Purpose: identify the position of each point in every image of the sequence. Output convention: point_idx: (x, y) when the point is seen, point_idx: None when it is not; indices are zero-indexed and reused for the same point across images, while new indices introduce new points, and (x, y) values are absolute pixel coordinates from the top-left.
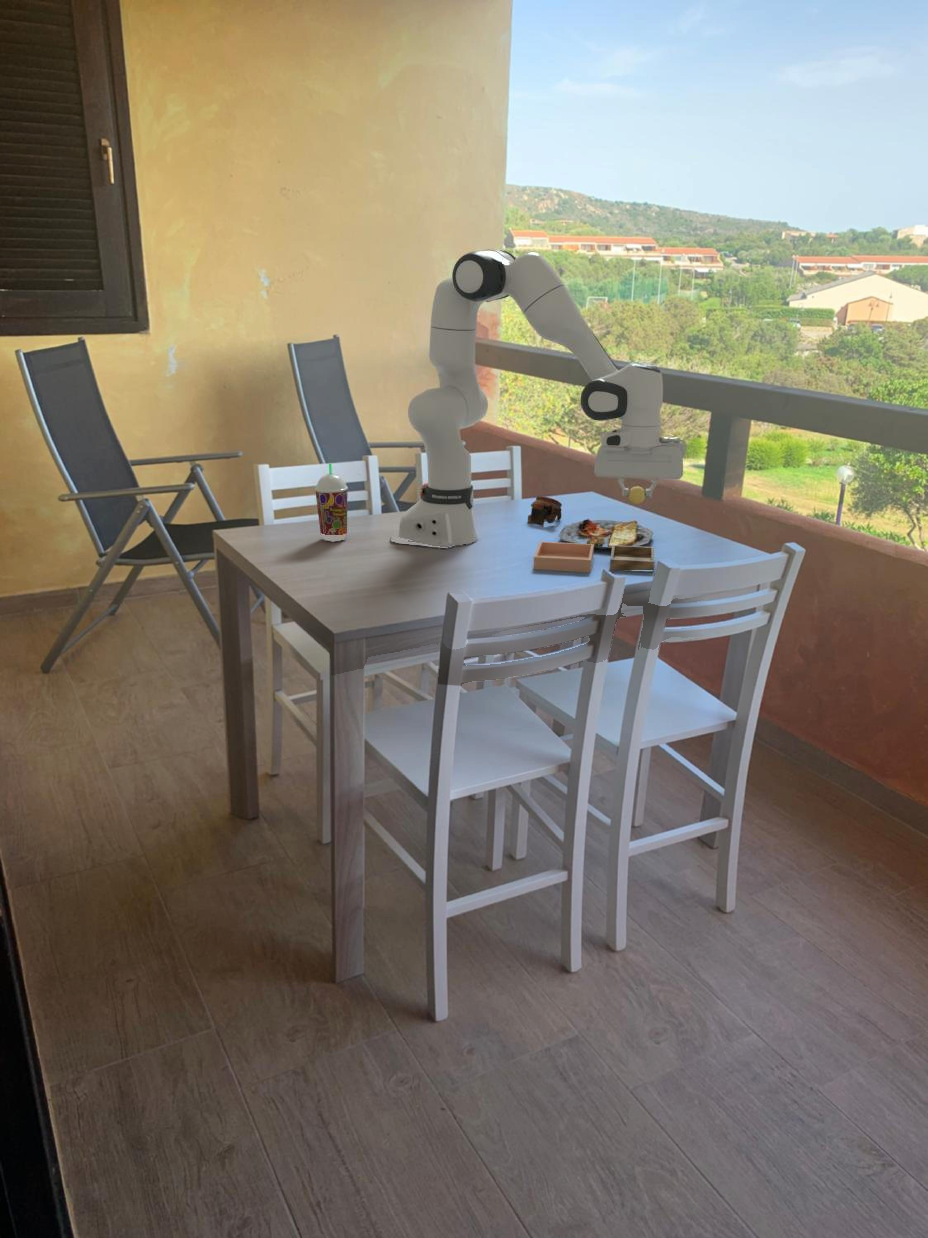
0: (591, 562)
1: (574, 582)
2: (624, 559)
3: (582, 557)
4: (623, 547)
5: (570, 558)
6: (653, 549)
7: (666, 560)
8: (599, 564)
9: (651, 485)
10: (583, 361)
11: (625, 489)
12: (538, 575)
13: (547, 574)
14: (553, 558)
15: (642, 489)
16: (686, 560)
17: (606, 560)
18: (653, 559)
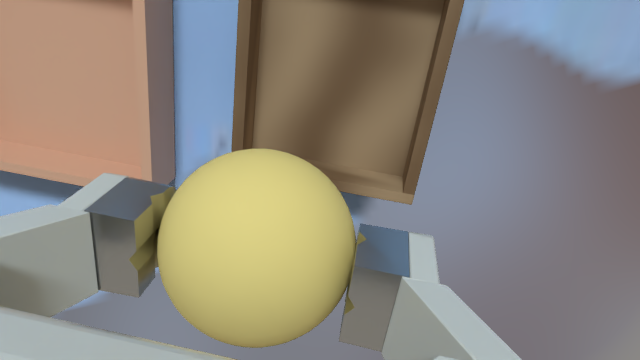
0: (166, 119)
1: None
2: None
3: (124, 9)
4: None
5: (75, 180)
6: (460, 6)
7: (522, 9)
8: (204, 79)
9: (428, 324)
10: None
11: (104, 285)
12: (17, 201)
13: (41, 193)
14: (14, 172)
15: (298, 331)
16: (632, 5)
17: (233, 18)
18: (416, 175)
